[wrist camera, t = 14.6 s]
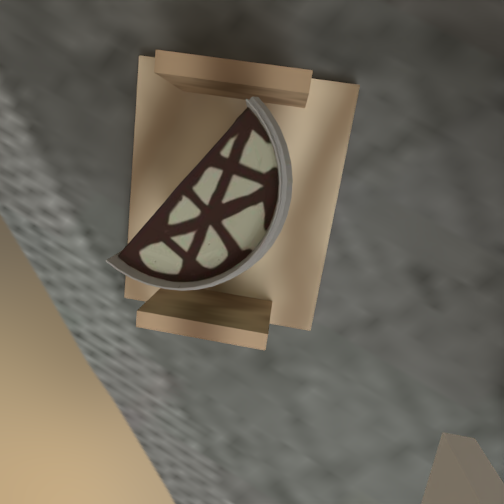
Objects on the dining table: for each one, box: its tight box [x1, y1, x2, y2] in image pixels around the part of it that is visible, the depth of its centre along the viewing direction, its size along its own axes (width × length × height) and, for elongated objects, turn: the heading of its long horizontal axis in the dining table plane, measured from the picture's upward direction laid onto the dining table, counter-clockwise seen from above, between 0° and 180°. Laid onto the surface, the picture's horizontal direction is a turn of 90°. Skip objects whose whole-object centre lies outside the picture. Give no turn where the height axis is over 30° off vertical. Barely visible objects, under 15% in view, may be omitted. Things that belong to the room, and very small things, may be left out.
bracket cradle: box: [124, 50, 360, 350], centre depth 26 cm, size 16×19×7 cm
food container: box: [106, 97, 293, 291], centre depth 24 cm, size 12×6×10 cm, turn 137°
